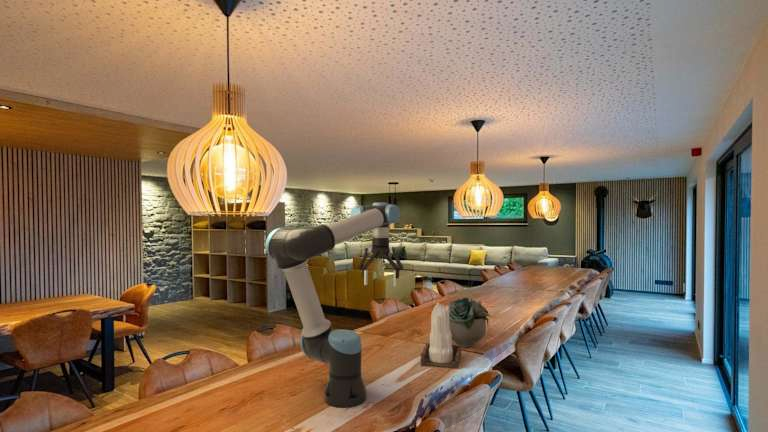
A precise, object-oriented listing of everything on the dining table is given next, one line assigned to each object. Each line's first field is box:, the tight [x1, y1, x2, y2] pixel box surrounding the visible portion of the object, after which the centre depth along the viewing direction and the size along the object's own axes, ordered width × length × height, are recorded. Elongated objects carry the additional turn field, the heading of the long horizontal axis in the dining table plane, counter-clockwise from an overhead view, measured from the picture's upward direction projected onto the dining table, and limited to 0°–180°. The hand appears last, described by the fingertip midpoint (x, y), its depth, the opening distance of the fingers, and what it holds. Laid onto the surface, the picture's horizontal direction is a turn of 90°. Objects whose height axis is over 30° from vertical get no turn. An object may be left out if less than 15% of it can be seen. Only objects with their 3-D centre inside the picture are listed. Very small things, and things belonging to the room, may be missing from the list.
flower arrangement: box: [447, 297, 491, 348], centre depth 210 cm, size 25×25×24 cm
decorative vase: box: [429, 302, 453, 363], centre depth 186 cm, size 11×11×25 cm
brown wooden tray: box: [420, 343, 462, 370], centre depth 186 cm, size 17×16×5 cm
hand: (380, 285), depth 180 cm, fingers open, 13 cm apart
